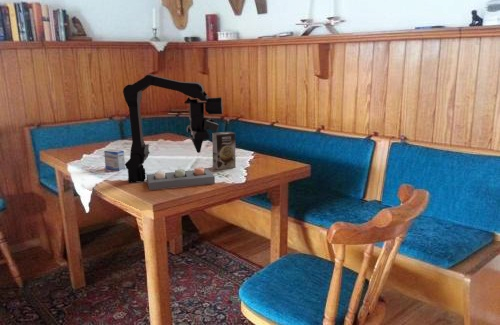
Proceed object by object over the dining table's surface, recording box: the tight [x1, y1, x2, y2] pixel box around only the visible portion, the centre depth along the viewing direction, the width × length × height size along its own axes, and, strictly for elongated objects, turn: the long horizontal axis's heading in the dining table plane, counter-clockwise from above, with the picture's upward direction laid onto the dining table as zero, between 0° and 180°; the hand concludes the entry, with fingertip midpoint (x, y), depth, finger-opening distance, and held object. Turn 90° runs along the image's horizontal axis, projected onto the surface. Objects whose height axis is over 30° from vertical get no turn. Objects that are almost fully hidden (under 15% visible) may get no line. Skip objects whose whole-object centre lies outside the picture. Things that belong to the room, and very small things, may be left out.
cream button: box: [154, 170, 166, 180], centre depth 172 cm, size 4×4×3 cm
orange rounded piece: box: [193, 167, 205, 176], centre depth 177 cm, size 4×4×3 cm
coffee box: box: [211, 131, 236, 171], centre depth 196 cm, size 9×6×16 cm
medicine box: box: [103, 149, 126, 172], centre depth 195 cm, size 8×4×9 cm, turn 68°
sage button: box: [174, 169, 186, 178], centre depth 174 cm, size 4×4×3 cm
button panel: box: [145, 168, 216, 191], centre depth 175 cm, size 26×12×3 cm, turn 108°
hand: (198, 152), depth 174 cm, fingers closed
